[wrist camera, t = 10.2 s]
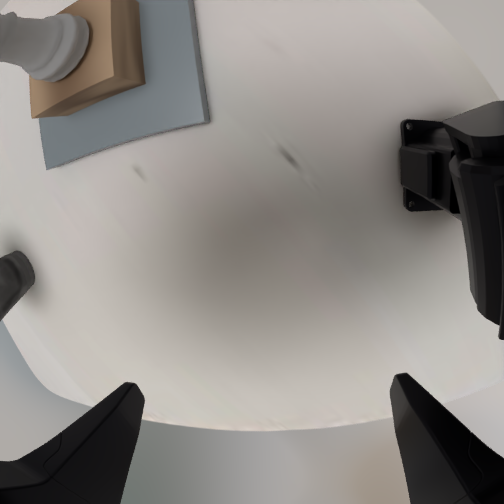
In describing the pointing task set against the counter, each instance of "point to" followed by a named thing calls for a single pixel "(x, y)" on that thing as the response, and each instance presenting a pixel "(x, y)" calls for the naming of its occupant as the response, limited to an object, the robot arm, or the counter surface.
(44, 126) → the build plate
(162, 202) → the counter surface
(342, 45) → the counter surface
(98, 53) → the base brick
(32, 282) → the beverage cup
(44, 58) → the rook chess piece
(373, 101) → the counter surface
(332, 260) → the counter surface
